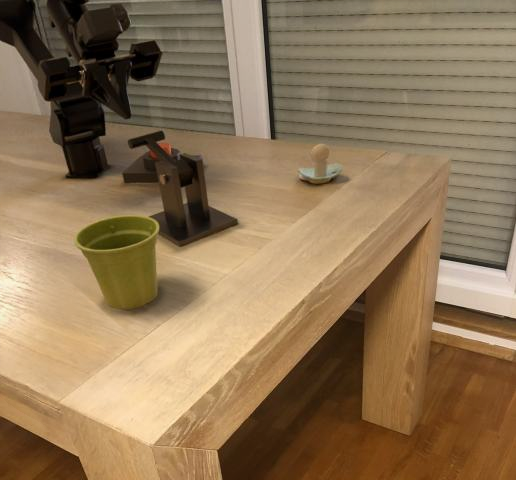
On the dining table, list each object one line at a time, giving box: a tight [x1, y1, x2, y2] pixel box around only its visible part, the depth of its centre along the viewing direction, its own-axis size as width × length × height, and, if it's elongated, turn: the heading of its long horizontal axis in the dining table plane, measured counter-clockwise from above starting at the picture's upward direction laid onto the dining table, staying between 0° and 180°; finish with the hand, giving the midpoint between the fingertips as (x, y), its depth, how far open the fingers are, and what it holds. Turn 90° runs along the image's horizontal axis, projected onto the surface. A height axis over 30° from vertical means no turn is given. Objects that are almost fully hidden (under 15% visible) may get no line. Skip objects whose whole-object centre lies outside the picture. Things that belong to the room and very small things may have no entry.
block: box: [121, 147, 204, 184], centre depth 101 cm, size 12×9×4 cm
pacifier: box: [297, 143, 343, 185], centre depth 93 cm, size 7×6×6 cm
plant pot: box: [73, 214, 159, 310], centre depth 65 cm, size 9×9×9 cm
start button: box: [149, 142, 172, 158], centre depth 99 cm, size 4×4×2 cm
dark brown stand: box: [148, 152, 239, 248], centre depth 81 cm, size 11×10×10 cm
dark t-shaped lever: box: [127, 130, 193, 188], centre depth 80 cm, size 11×6×2 cm, turn 38°
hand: (128, 117), depth 84 cm, fingers closed
